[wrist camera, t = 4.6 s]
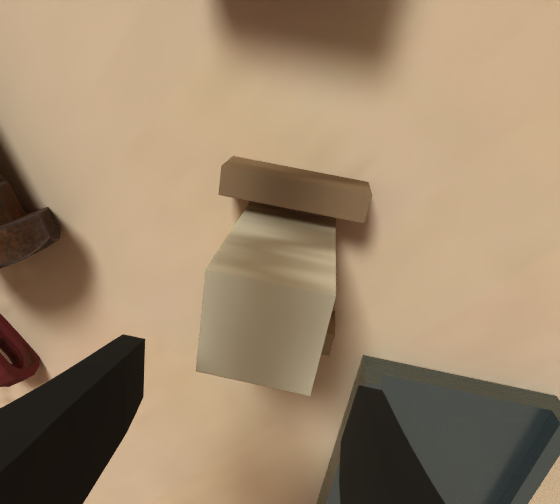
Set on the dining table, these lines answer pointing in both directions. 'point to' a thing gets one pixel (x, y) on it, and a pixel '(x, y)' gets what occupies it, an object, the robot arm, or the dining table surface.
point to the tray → (463, 433)
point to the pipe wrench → (15, 356)
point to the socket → (297, 196)
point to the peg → (269, 299)
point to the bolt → (23, 228)
